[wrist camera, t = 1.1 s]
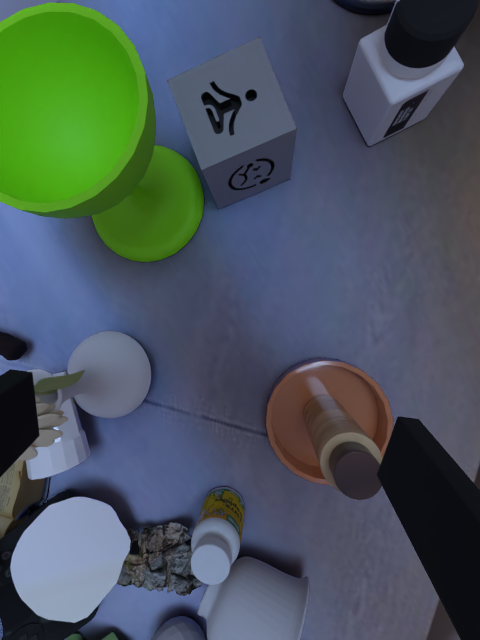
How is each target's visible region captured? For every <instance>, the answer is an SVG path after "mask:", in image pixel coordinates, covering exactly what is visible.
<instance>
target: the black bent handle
mask: <svg viewBox="0 0 480 640" xmlns="http://www.w3.org/2000/svg"><path fill="white" fill-rule="evenodd" d="M26 351H27V347H26V344H25V343H24V342H23V341H21V340H19V339H17V338H15V337H13V336H11V335H9V334H6V333H3V332H0V355H2V356H3V357H4V358H6V359H7V360H17V359H19V358H20V357H21V356H22V355H23V354H24V353H25V352H26Z"/></svg>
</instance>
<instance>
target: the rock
mask: <svg viewBox="0 0 480 640" xmlns="http://www.w3.org/2000/svg"><path fill="white" fill-rule="evenodd" d="M125 529H126V531H127V533H128V536H129V538H130V540H131V542H130V550H131V548H132V543H133V541H134V540H137V539H139V540H138V545H139V546H140V547H139V548H140V550H139V554H137V555H134V554H133V555H132V554H130V551H129V553H128V555H127V556H126V558H125V560H124V562H123V565H122V569H121V572H120V575H119V578H118V581H117V583H118V584H119V585H122V586H128V585H132V584H133V585H135V586H136V587H138V588H139V587H144V588H147V590H150V591H151V590H152V589H153V590H154V589H157V591H161V590H162V591H163V587H167V584H168V590H167V592H169V591H173V590H174V589H176V590H175V591H176V593H177V594H179V595H180V596H181V595H183V596H185V595H187V593H188V594H189V595H190V594H191V592H192V590H194V589H196V588H197V587H198V586H199V587H200V586H201V584H202V582H201V581H199V580H198V579H197V578H196V577H195V575H194V574H193V571H192V569H191V557H192V554H193V552H192V548H191V546H188V545H187V544H185V541H186V540H189V539H191V538H192V537H191V536H189V535H188V531H189V530H188V528H186V527H184V526H183V525H181V524H180V523H177V522H175V523H169V525H167V526H166V525H165V524H164V526H163V525H158V526H156V527H155V528H153V527H152V526H151V527H147V526H146V527H144V531H143V532H141V533H140V534H139V531H136V530H134V529H130V528H125ZM158 529H160V530H158Z"/></svg>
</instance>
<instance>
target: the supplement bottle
mask: <svg viewBox="0 0 480 640" xmlns="http://www.w3.org/2000/svg"><path fill="white" fill-rule="evenodd" d="M244 511H245V508H244V502H243V500H242V498H241V496H240V495H239V493H237V492H236V491H235V490H233V489H231V488H228V487H219V488H215V489H213V490H212V491H211V492H210V493H209V494H208V495H207V497H206V499H205V501H204V504H203V506H202V509H201V512H200V515H199V517H198V520H197V523H196V526H195V528H194V531H193V534H192V539H191V548H192V552H193V554H192V557H191V569H192V571H193V574H194V575H195V577H196V578H197V579H198V580H199V581H201V582H202V583H205V584H208V585H216V584H219V583H221V582H223V581H224V580H225V579H226V577H227V576H228V574H229V571H230V567H231V564H232V563H233V562H234V561H235V560H236V558H237V556H238V553H239V549H240V542H241V535H242V527H243V520H244Z"/></svg>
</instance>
